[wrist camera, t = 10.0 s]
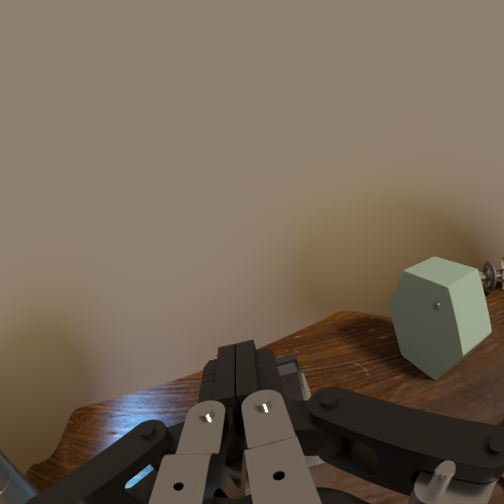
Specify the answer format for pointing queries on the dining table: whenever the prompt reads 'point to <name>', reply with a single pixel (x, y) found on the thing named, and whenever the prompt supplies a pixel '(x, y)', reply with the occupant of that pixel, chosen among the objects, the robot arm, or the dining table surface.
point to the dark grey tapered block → (290, 381)
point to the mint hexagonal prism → (439, 314)
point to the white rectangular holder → (317, 467)
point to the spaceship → (491, 276)
